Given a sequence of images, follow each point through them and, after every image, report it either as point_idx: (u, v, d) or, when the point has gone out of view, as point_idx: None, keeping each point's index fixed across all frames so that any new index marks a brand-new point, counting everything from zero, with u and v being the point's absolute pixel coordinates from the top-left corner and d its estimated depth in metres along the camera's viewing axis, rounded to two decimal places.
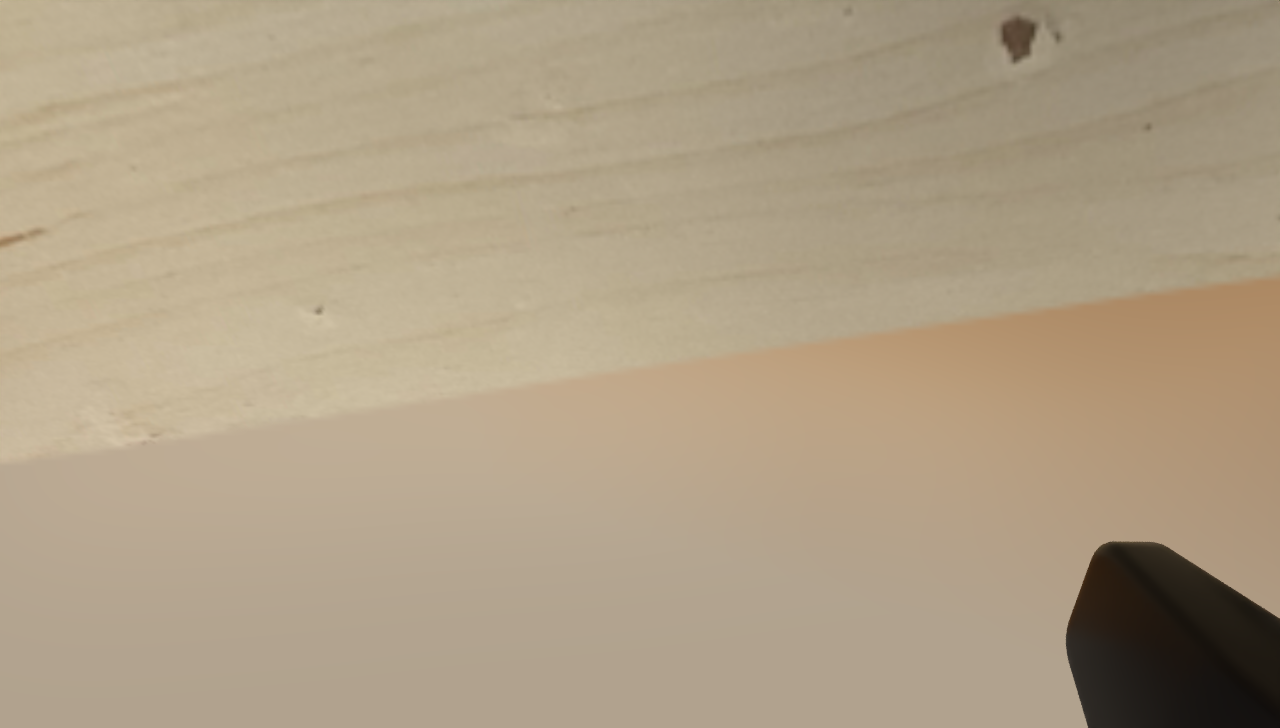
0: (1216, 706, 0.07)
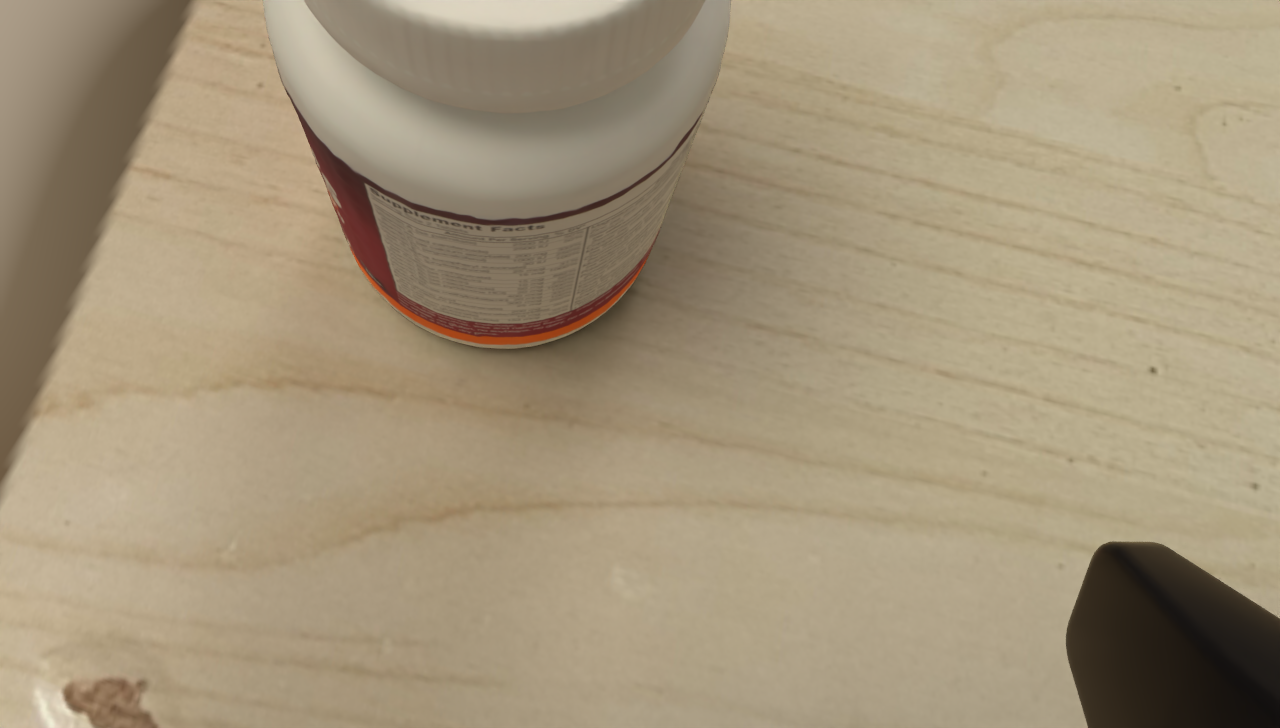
0: (1215, 706, 0.07)
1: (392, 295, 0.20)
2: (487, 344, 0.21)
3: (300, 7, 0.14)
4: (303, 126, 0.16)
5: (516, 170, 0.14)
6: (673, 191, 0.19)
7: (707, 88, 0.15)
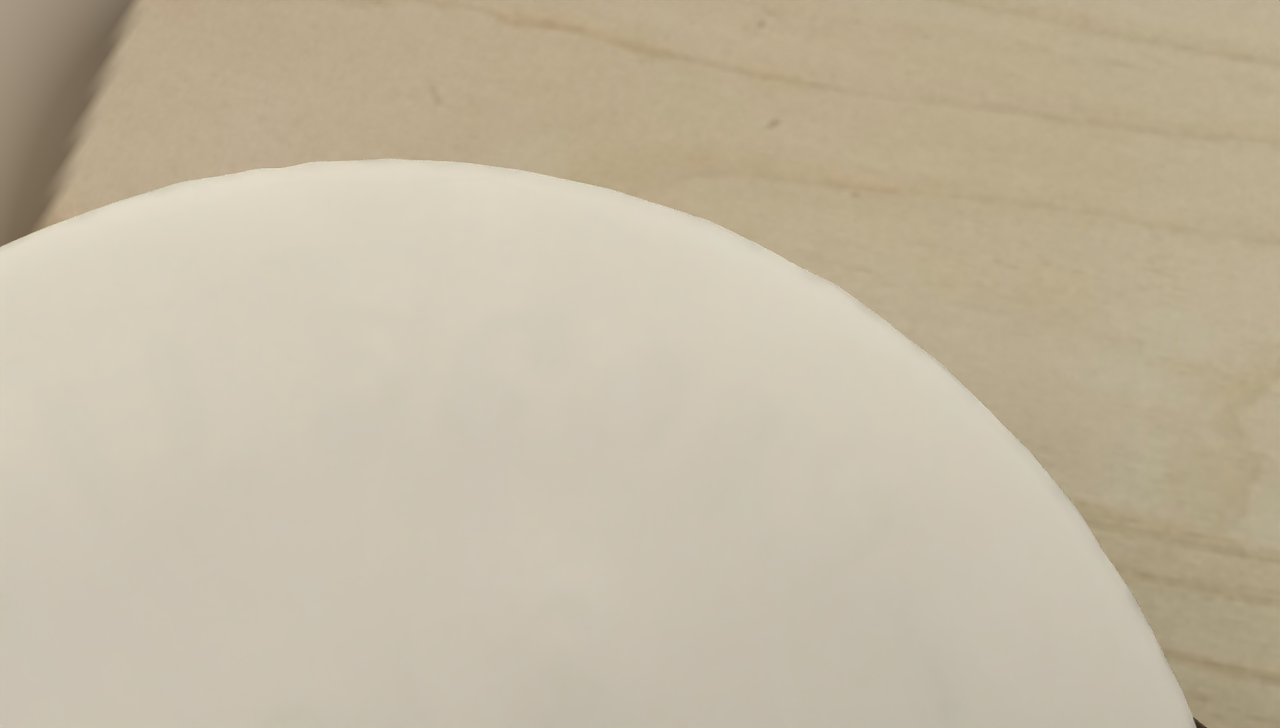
0: None
1: None
2: None
3: None
4: None
5: None
6: None
7: None
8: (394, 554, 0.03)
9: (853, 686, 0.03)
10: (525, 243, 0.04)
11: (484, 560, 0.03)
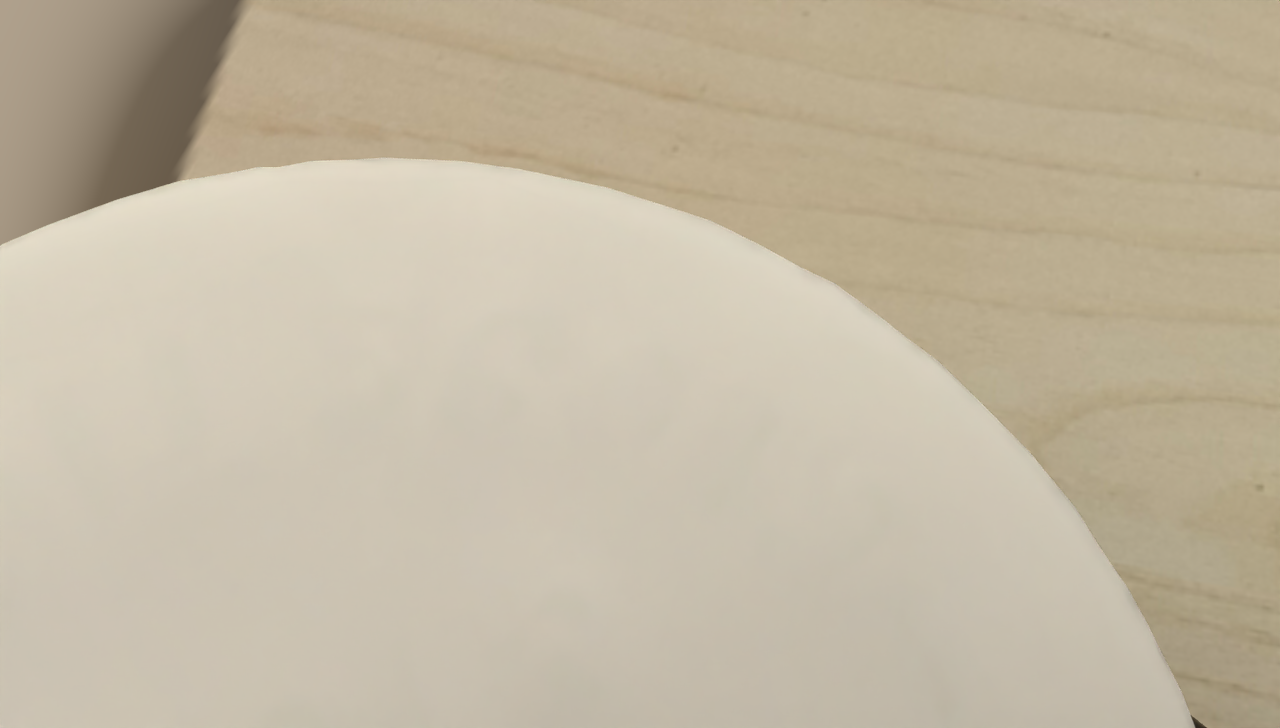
0: None
1: None
2: None
3: None
4: None
5: None
6: None
7: None
8: (392, 550, 0.03)
9: (851, 685, 0.03)
10: (523, 242, 0.04)
11: (481, 556, 0.03)
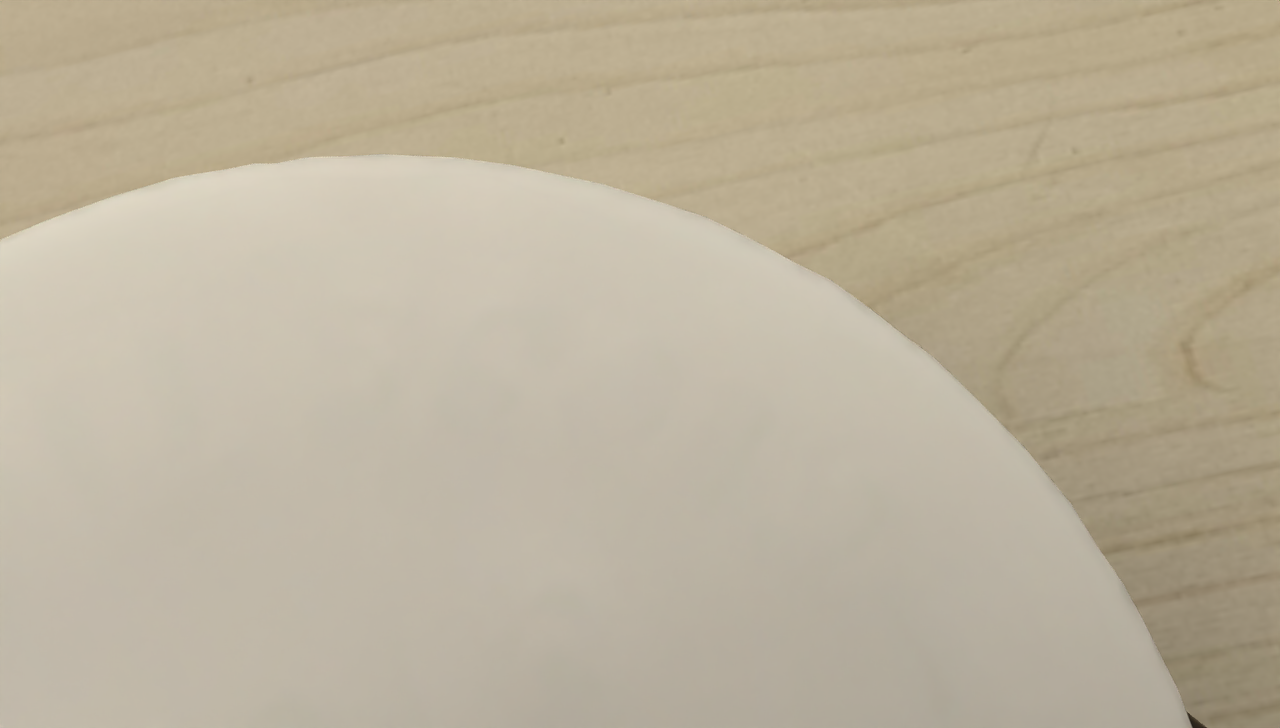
0: None
1: None
2: None
3: None
4: None
5: None
6: None
7: None
8: (388, 547, 0.03)
9: (846, 680, 0.03)
10: (519, 238, 0.04)
11: (478, 552, 0.03)
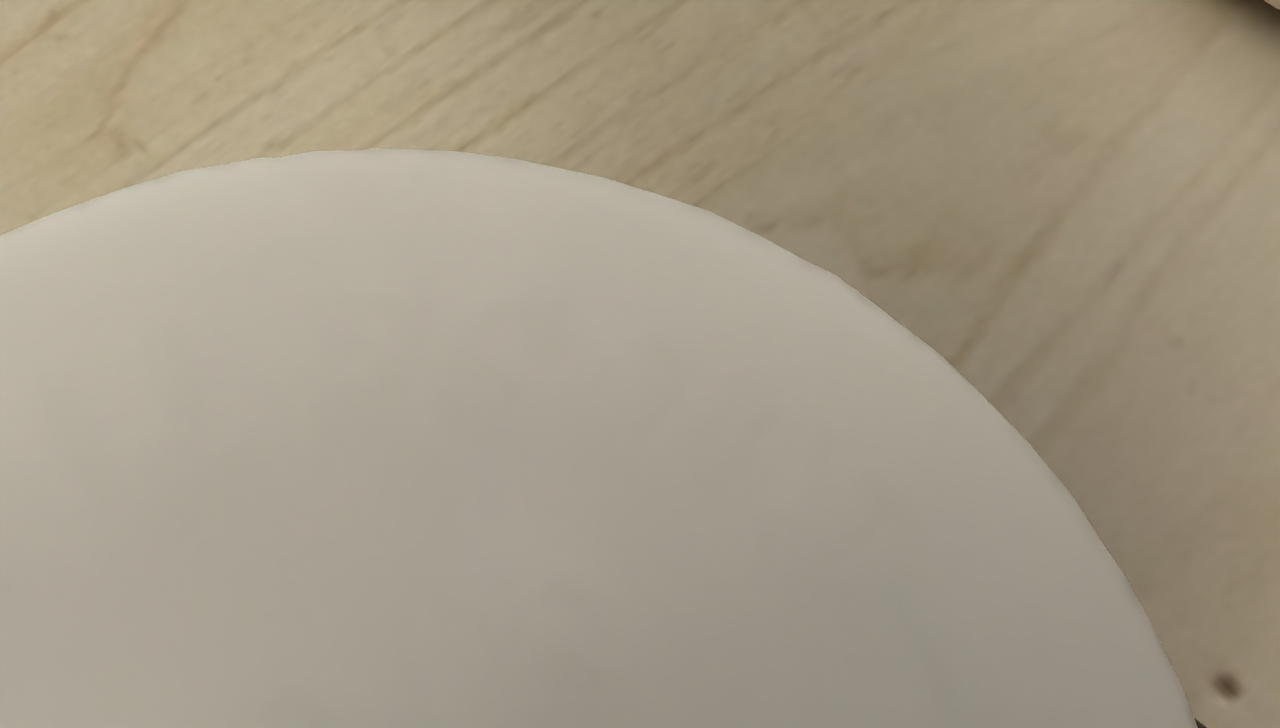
0: None
1: None
2: None
3: None
4: None
5: None
6: None
7: None
8: (392, 540, 0.03)
9: (850, 674, 0.03)
10: (523, 232, 0.04)
11: (478, 546, 0.03)
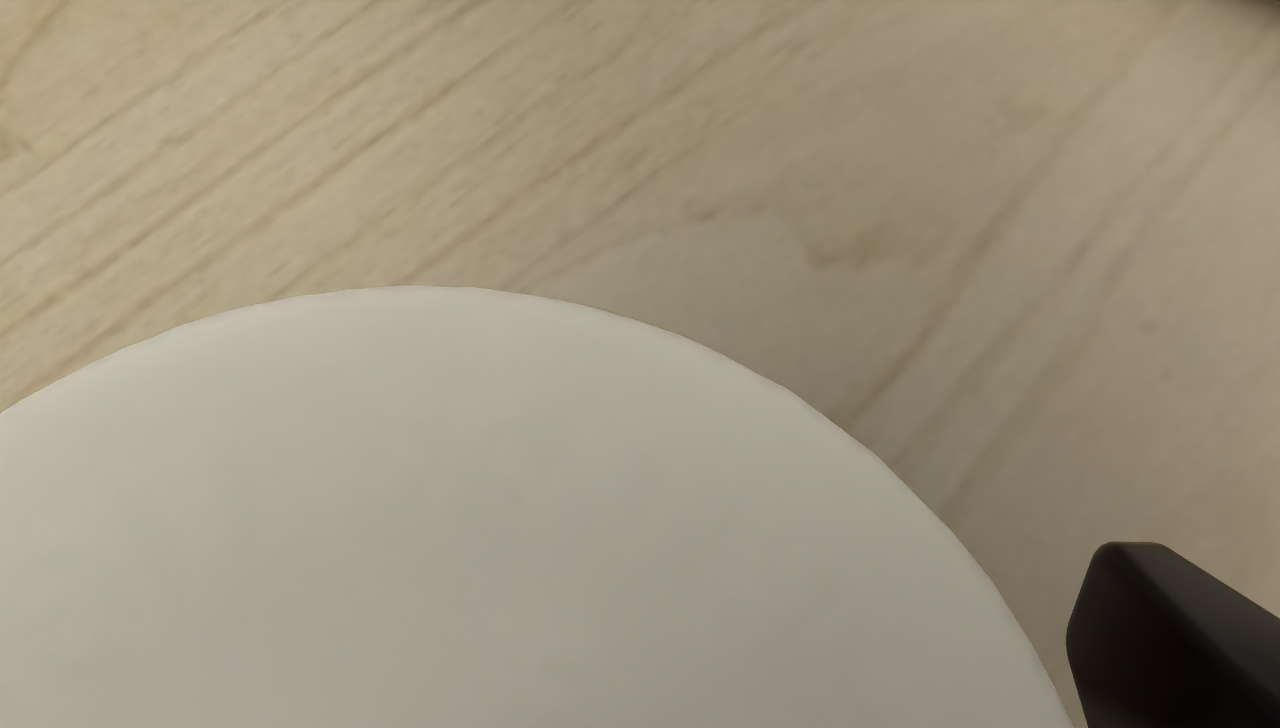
0: (1216, 706, 0.07)
1: None
2: None
3: None
4: None
5: None
6: None
7: None
8: (415, 622, 0.04)
9: None
10: (523, 359, 0.04)
11: (490, 629, 0.04)
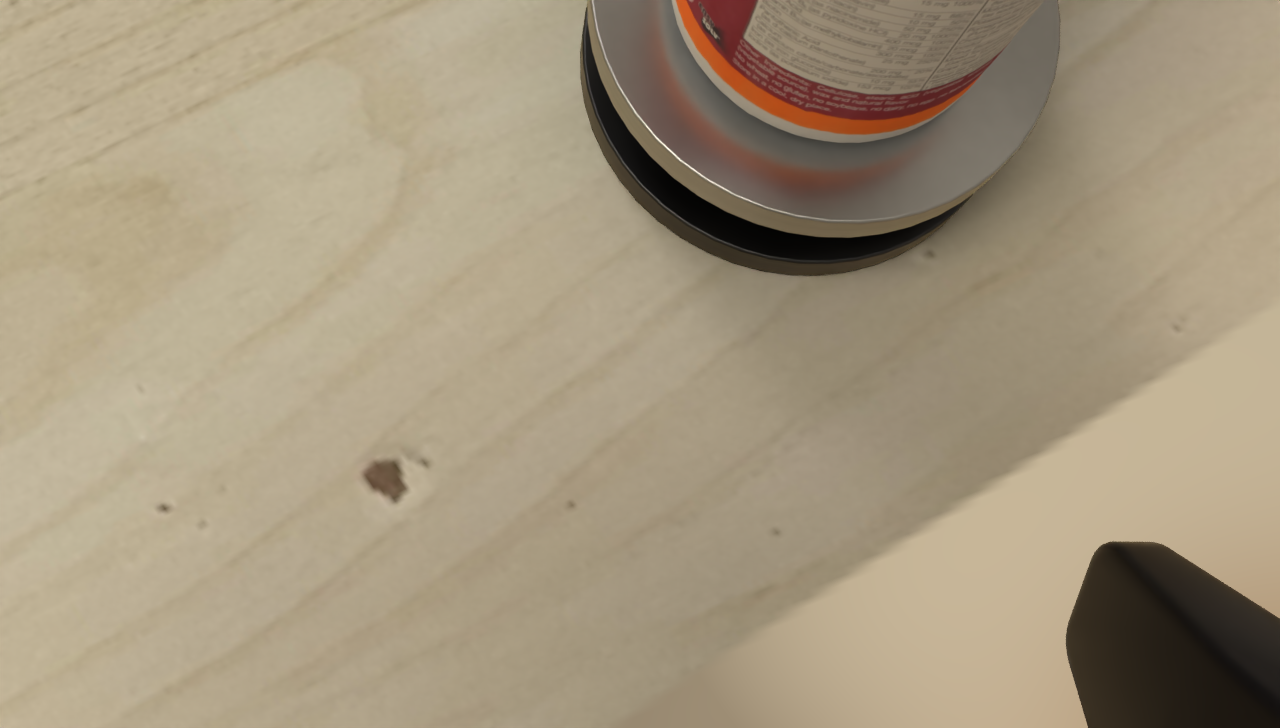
0: (1215, 706, 0.07)
1: (727, 50, 0.19)
2: (806, 128, 0.20)
3: None
4: None
5: None
6: None
7: None
8: None
9: None
10: None
11: None
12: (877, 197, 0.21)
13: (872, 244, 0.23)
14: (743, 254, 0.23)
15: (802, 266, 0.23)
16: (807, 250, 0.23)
